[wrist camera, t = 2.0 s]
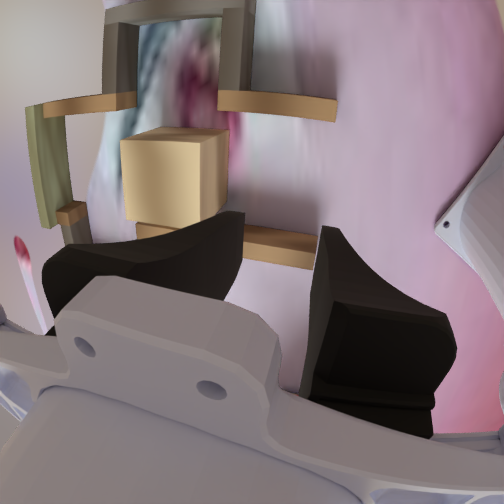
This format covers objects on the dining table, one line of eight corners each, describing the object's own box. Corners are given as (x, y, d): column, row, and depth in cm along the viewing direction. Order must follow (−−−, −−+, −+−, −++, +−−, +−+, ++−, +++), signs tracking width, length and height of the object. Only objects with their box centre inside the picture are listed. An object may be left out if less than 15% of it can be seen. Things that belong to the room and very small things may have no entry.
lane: (344, 6, 14) (346, -11, 11) (302, 318, 25) (296, 348, 22) (56, 33, 18) (26, 33, 15) (78, 267, 29) (57, 286, 26)
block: (230, 129, 20) (200, 143, 15) (227, 201, 22) (200, 231, 18) (161, 126, 21) (120, 140, 16) (163, 192, 23) (126, 219, 19)
